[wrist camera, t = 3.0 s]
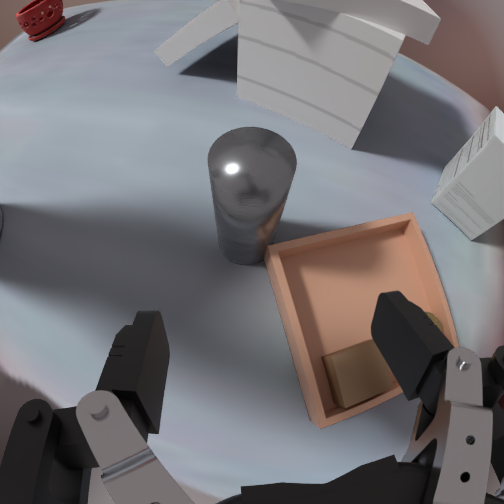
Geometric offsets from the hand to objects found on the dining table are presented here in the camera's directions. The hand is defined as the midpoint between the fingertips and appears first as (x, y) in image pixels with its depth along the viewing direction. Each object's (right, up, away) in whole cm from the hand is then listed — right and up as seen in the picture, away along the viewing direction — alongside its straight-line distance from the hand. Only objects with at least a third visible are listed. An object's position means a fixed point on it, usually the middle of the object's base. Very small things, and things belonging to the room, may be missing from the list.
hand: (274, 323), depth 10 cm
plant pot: (-56, +62, +33) cm, 90 cm away
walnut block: (+7, -7, +10) cm, 14 cm away
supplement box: (+24, +8, +18) cm, 31 cm away
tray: (+9, -3, +13) cm, 16 cm away
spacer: (-1, +4, +15) cm, 15 cm away
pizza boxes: (+3, +26, +23) cm, 35 cm away
